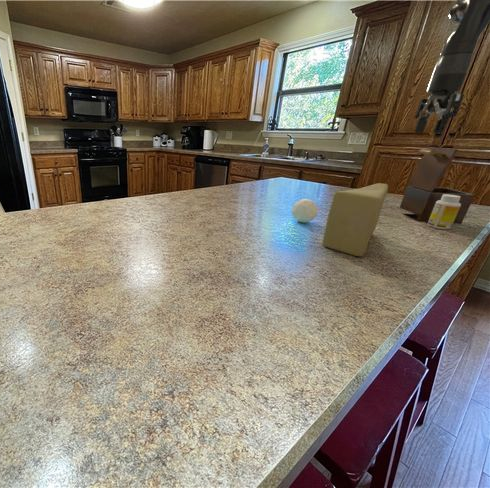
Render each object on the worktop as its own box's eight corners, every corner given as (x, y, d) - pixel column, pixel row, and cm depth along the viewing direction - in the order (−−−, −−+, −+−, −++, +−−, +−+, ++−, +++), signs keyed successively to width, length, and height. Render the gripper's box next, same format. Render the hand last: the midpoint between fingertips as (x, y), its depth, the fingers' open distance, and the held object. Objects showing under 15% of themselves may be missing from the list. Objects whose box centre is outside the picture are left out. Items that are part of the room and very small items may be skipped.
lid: (430, 147, 92) (415, 144, 92) (458, 149, 82) (441, 146, 82) (408, 185, 98) (394, 182, 98) (432, 191, 87) (416, 188, 87)
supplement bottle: (454, 228, 85) (469, 197, 80) (443, 230, 83) (458, 198, 79) (432, 223, 89) (445, 193, 85) (422, 225, 88) (435, 194, 84)
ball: (294, 229, 90) (282, 210, 89) (306, 217, 94) (295, 198, 93) (315, 225, 84) (302, 203, 83) (327, 211, 87) (315, 191, 86)
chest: (435, 213, 100) (446, 187, 96) (461, 223, 89) (475, 194, 85) (397, 212, 102) (407, 186, 98) (418, 221, 91) (430, 193, 87)
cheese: (351, 228, 84) (365, 180, 78) (388, 237, 77) (408, 185, 71) (319, 245, 71) (333, 189, 65) (361, 258, 64) (382, 197, 58)
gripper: (486, 68, 72) (459, 133, 79) (445, 77, 85) (425, 132, 92) (454, 69, 73) (430, 133, 80) (418, 78, 86) (400, 132, 93)
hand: (427, 132), depth 86 cm, fingers open, 8 cm apart
